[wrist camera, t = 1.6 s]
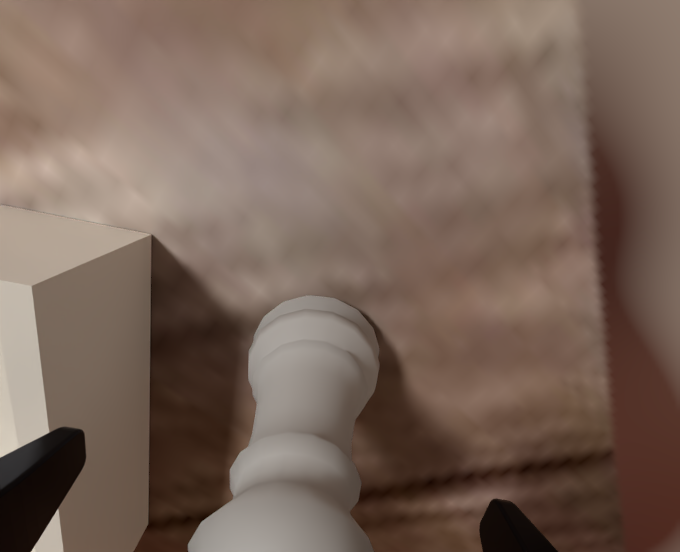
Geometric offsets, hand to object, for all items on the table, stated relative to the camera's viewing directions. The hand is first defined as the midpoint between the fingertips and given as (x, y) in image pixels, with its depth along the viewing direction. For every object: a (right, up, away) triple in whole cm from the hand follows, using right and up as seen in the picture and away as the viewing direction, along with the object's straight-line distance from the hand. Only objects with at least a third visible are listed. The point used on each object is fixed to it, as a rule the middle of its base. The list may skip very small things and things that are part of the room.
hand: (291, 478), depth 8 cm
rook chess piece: (0, +2, +5) cm, 6 cm away
